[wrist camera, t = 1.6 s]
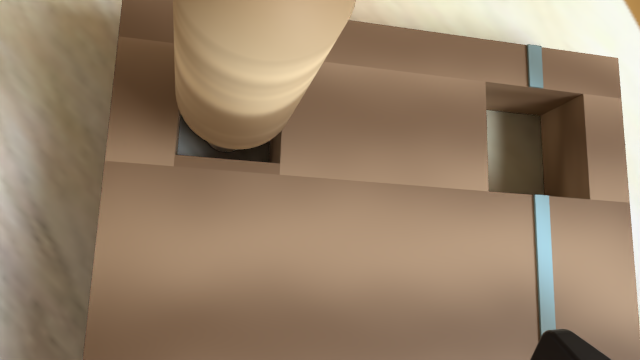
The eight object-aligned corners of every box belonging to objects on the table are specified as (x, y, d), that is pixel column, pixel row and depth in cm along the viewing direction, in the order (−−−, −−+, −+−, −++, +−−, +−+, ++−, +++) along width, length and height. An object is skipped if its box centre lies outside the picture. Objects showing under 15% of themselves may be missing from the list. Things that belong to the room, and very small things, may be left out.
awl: (270, 183, 23) (355, 70, 12) (172, 175, 23) (163, 47, 11) (274, 92, 24) (359, -94, 13) (180, 82, 23) (179, -127, 12)
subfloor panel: (598, 499, 24) (657, 527, 21) (77, 523, 20) (59, 562, 17) (572, 83, 28) (619, 57, 25) (130, 26, 23) (123, -13, 20)
